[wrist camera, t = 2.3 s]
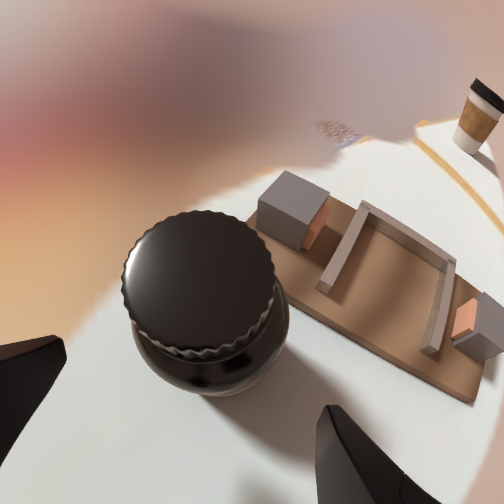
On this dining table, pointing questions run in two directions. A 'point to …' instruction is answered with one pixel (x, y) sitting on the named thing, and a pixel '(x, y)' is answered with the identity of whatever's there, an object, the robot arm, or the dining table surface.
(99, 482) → the dining table surface
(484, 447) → the dining table surface
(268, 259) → the supplement bottle
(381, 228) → the walnut rail
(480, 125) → the coffee cup
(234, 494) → the dining table surface
